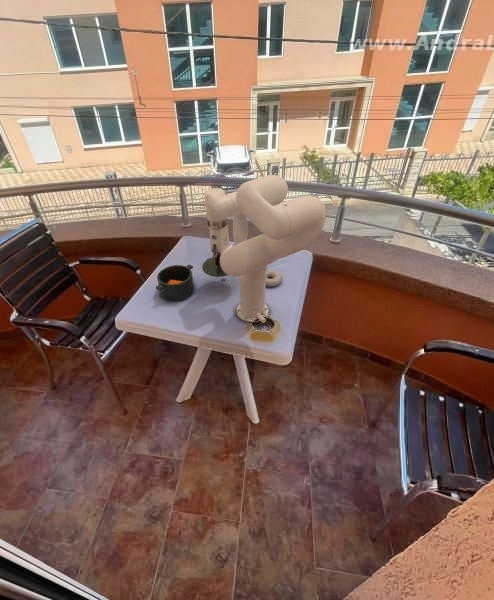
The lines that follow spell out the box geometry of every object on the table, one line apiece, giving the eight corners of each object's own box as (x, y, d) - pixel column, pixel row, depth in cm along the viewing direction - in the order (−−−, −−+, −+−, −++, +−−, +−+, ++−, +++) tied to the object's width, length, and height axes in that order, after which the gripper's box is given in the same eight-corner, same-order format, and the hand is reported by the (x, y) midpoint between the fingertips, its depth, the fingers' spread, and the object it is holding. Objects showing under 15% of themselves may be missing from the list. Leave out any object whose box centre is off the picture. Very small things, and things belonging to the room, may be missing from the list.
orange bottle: (191, 289, 139) (190, 282, 137) (188, 293, 137) (187, 286, 135) (169, 286, 142) (168, 279, 140) (166, 290, 140) (165, 283, 137)
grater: (234, 257, 157) (232, 203, 139) (231, 250, 163) (228, 196, 145) (250, 254, 159) (250, 200, 141) (245, 247, 164) (245, 194, 146)
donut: (280, 289, 137) (282, 275, 144) (281, 283, 135) (283, 269, 142) (257, 287, 139) (260, 273, 146) (257, 281, 137) (260, 267, 144)
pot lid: (246, 264, 135) (246, 250, 131) (223, 282, 126) (222, 268, 122) (218, 254, 143) (217, 241, 139) (194, 270, 134) (192, 256, 130)
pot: (205, 284, 142) (203, 269, 137) (172, 309, 131) (169, 293, 125) (181, 274, 149) (179, 258, 144) (149, 296, 138) (145, 280, 133)
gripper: (219, 233, 115) (223, 275, 126) (233, 214, 127) (235, 254, 138) (200, 231, 117) (205, 273, 128) (215, 212, 129) (218, 252, 140)
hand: (221, 262), depth 133 cm, fingers closed on pot lid, 3 cm apart
